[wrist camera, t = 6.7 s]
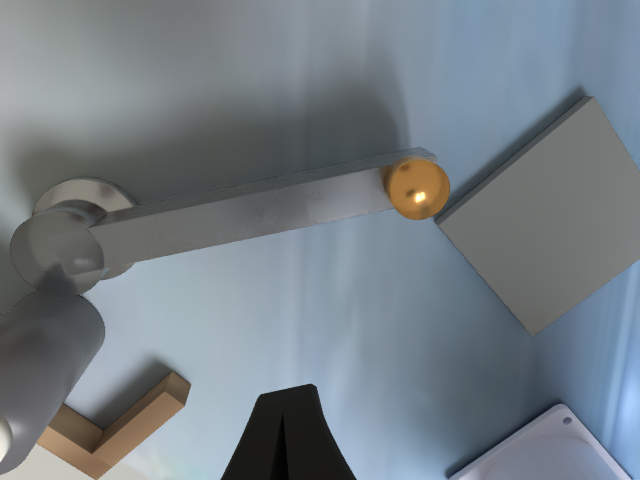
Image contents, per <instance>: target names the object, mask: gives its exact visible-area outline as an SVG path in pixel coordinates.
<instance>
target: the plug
mask: <svg viewBox="0 0 640 480" xmlns="http://www.w3.org/2000/svg"><path fill="white" fill-rule="evenodd" d="M104 338H105V326H104V322H103V320H102V317H101V315H100V314H99V312H98V311H97V309H96V308H95V307H94V306H93V305H92V304H91V303H90V302H89V301H87V300H86V299H84V298H83V297H81V296H79V295H75V296H65V297H63V296H55V295H50V294H47V293H44V292H42V291H36V292H34V293H32V294H30V295H28V296H27V297H25V298H24V299H23V300H22V301H21V302H19V303H18V304H17V305H16V306H15V307H14V308H12V309H11V310H10V311H9V312H8V313H7V314H6V315H4V316H3V317H2V318H1V319H0V475H1V474H4V473H7V472H9V471H11V470H13V469H14V468H16V467H17V466H19V465H20V464H21V463H22V462H23V461H24V460H25V459H26V457H27V456H28V454H29V453H30V451H31V450H32V448H33V447H34V445H35V444H36V442H37V441H38V439H39V438H40V436H41V435H42V433H43V432H44V430H45V429H46V427H47V426H48V424H49V423H50V421H51V420H52V419H53V417H54V416H55V414H56V413H57V411H58V410H59V408H60V407H61V405H62V404H63V402H64V401H65V399H66V398H67V396H68V395H69V393H70V392H71V390H72V389H73V387H74V386H75V384H76V383H77V381H78V380H79V379H80V377H81V376H82V374H83V373H84V371H85V370H86V368H87V367H88V365H89V364H90V362H91V361H92V359H93V358H94V356H95V355H96V353H97V352H98V350H99V349H100V347H101V346H102V344H103V341H104Z"/></svg>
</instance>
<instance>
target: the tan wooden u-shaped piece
mask: <svg viewBox="0 0 640 480" xmlns="http://www.w3.org/2000/svg"><path fill="white" fill-rule="evenodd" d="M190 387H191V384H189V383H188V382H187V381H185V380H184V379H183V378H181V377H180V376H179V375H177V374H176V373H175V372H174V371H172V372H171V373H170V374H168V375H167V376H166V377H165V378H164V379H163V380H162V381H160V382H159V383H158V384H157V385H156V386H155V387H154V388H152V389H151V390H150V391H149V392H148V393H147V394H145V395H144V396H143V397H142V398H141V399H140V400H139V401H137V402H136V403H135V404H134V405H133V406H132V407H131V408H129V409H128V410H127V411H126V412H125V413H124V414H122V415H121V416H120V417H119V418H118V419H117V420H116V421H114V422H113V423H112V424H111V425H110V426H109V427H108V428H106V429H105V430H102V429H101V428H99V427H98V426H96V425H95V424H93V423H92V422H90V421H89V420H87V419H85V418H84V417H82V416H81V415H79V414H78V413H76V412H75V411H73V410H72V409H70V408H69V407H67V406H66V405H64V404H62V405H61V407H60V408H59V410H58V411H57V413H56V414H55V416H54V417H53V419H52V420H51V421H50V423H49V424H48V426H47V427H46V429H45V430H44V432H43V433H42V435H41V436H40V438H39V439H38V441H37V442H36V443H37V444H38V445H40V446H41V447H43V448H45V449H46V450H48V451H50V452H51V453H53V454H54V455H56V456H58V457H59V458H61V459H62V460H64V461H66V462H67V463H69V464H70V465H72V466H74V467H76V468H77V469H79V470H81V471H82V472H83V473H85V474H87V475H88V476H90V477H92V478H93V479H95V480H97V479H99V478H100V477H101V476H102V475H103V474H105V473H106V472H107V471H108V470H109V469H110V468H112V467H113V466H114V465H115V464H117V463H118V462H119V461H120V460H121V459H122V458H124V457H125V456H126V455H127V454H128V453H130V452H131V451H132V450H133V449H134V448H136V447H137V446H138V445H139V444H140V443H141V442H143V441H144V440H145V439H146V438H147V437H149V436H150V435H151V434H152V433H153V432H155V431H156V430H157V429H158V428H159V427H160V426H162V425H163V424H164V423H165V422H166V421H168V420H169V419H170V418H171V417H172V416H173V415H175V414H176V413H177V412H178V411H179V410H181V409H182V408H183V407H184V406H185V404H186V400H187V397H188V394H189V390H190Z"/></svg>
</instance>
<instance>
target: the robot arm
mask: <svg viewBox="0 0 640 480" xmlns="http://www.w3.org/2000/svg"><path fill="white" fill-rule="evenodd" d="M221 480H357V479H356V478H355V476H354V474H353V473H352V471H351V469H350V468H349V466H348V464H347V462H346V461H345V459H344V457H343V455H342V454H341V452H340V450H339V448H338V446H337V444H336V442H335V440H334V438H333V436H332V434H331V432H330V429H329V427H328V425H327V423H326V420H325V418H324V415H323V411H322V407H321V403H320V399H319V395H318V391H317V387H316V386H314V385H313V384H306V385H302V386H297V387H292V388H288V389H283V390H279V391H274V392H269V393H265V394H261V395H260V396H259V397H258V399H257V401H256V403H255V406H254V408H253V411H252V413H251V416H250V418H249V421H248V423H247V425H246V428H245V430H244V432H243V434H242V437H241V439H240V441H239V443H238V445H237V447H236V450H235V452H234V454H233V456H232V458H231V460H230V462H229V464H228V466H227V468H226V470H225V472H224V474H223V476H222V478H221ZM449 480H632V479H631V478H630V477H629V476H628V475H627V474H626V473H625V471H624V470H623V469H622V468H621V467H620V466H619V465H618V464H617V462H616V461H615V460H614V459H613V458H612V457H611V456H610V454H609V453H608V452H607V451H606V450H605V449H604V448H603V447H602V445H601V444H600V443H599V442H598V441H597V440H596V439H595V437H594V436H593V435H592V434H591V433H590V432H589V431H588V430H587V428H586V427H585V426H584V425H583V424H582V423H581V422H580V420H579V419H578V418H577V417H576V416H575V415H574V414H573V413H572V411H571V410H570V409H569V408H568V407H567V406H566V405H565V404H557V405H555V406H553V407H552V408H551V409H549V410H548V411H546V412H545V413H543V414H542V415H540V416H539V417H537V418H536V419H535V420H533V421H532V422H530V423H529V424H527V425H526V426H524V427H523V428H521V429H520V430H519V431H517V432H516V433H514V434H513V435H511V436H510V437H508V438H507V439H505V440H504V441H503V442H501V443H500V444H498V445H497V446H495V447H494V448H492V449H491V450H489V451H488V452H487V453H485V454H484V455H482V456H481V457H479V458H478V459H476V460H475V461H473V462H472V463H470V464H469V465H468V466H466V467H465V468H463V469H462V470H460V471H459V472H457V473H456V474H454V475H453V476H452V477H451V478H450V479H449Z"/></svg>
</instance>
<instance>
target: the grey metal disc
mask: <svg viewBox="0 0 640 480" xmlns="http://www.w3.org/2000/svg"><path fill="white" fill-rule="evenodd" d="M70 199H79V200H85V201H89V202H92V203H95V204H97V205H99V206H100V207H102V208H104V209H105V210H106V211H107V212H111V211H116V210H120V209H125V208H130V207H135V206H138V205H137V203H136V202H135V201H134V200H133V199H132V198H131V197H130V196H129V195H128V194H127V193H126V192H125V191H124V190H122V189H121V188H119V187H118V186H116V185H114V184H112V183H110V182H107V181H104V180H101V179H97V178H89V177H80V178H74V179H70V180H67V181H64V182H62V183H60V184H58V185H56V186H54V187H52V188H50V189H49V190H47V191H46V192H45V193H44V194H43V195H42V196H41V197H40V199H39V200H38V201H37V203H36V205H35V207H34V210H33V214H32V217H33V216H35V215H37V214H39V213H40V212H42V211H44V210H46V209H47V208H49V207H51V206H53V205H54V204H56V203H59V202H61V201H64V200H70ZM134 263H135V262H134ZM134 263H129V264H125V265H120V266H115V267H111V268H110V269H109V270H108V271H107V272H106V273H105V275H104V276H103V277H102V278H101V279H100V280H106V279H110V278H114V277H116V276H119V275H121V274H122V273H124V272H126V271H127V270H128V269H129V268H130V267H131V266H132V265H133V264H134Z"/></svg>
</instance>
